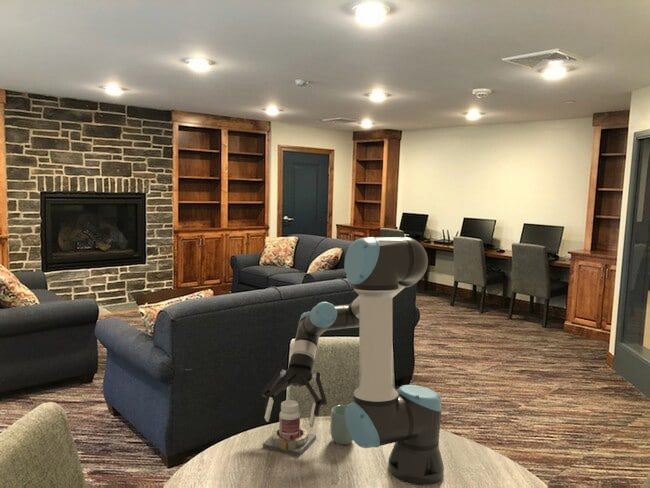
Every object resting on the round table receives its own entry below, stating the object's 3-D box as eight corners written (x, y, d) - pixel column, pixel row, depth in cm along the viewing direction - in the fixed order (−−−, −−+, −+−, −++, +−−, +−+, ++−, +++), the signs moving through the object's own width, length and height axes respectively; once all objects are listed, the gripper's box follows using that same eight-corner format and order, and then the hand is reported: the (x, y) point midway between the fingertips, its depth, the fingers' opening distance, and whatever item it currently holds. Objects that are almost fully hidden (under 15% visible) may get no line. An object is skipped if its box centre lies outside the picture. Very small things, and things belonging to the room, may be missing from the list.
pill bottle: (303, 441, 161) (304, 404, 160) (285, 446, 158) (285, 409, 157) (293, 433, 166) (293, 397, 165) (275, 437, 163) (275, 401, 162)
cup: (360, 440, 166) (361, 409, 165) (347, 450, 160) (348, 417, 158) (338, 433, 170) (339, 402, 169) (325, 442, 164) (326, 411, 163)
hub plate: (316, 438, 166) (316, 428, 166) (299, 457, 155) (299, 446, 154) (280, 430, 170) (281, 421, 170) (261, 448, 159) (262, 437, 159)
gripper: (342, 367, 173) (331, 432, 160) (267, 359, 178) (251, 422, 165) (340, 356, 167) (328, 423, 154) (263, 348, 172) (245, 412, 159)
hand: (288, 422), depth 160 cm, fingers open, 13 cm apart
